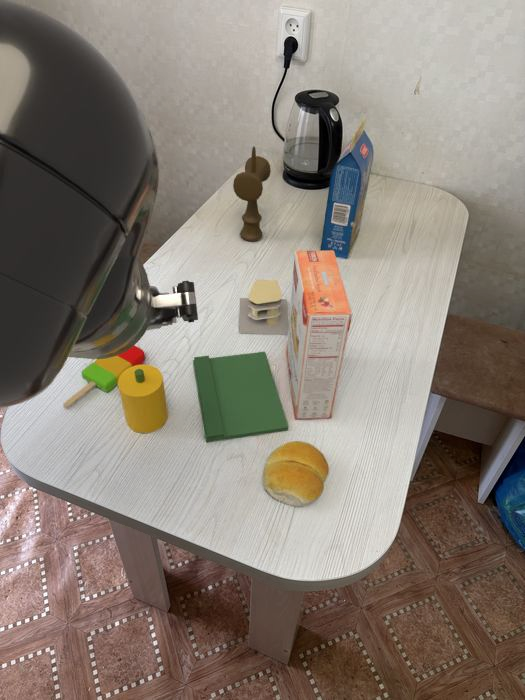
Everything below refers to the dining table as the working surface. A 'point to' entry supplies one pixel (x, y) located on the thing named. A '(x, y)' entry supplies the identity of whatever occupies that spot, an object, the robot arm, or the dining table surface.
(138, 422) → the yellow cylinder with peg
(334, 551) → the dining table surface
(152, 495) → the dining table surface
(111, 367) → the popsicle
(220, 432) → the green notebook
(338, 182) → the blue food package
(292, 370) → the cracker box
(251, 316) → the stacked layers on plate
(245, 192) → the kendama
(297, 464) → the bread roll
